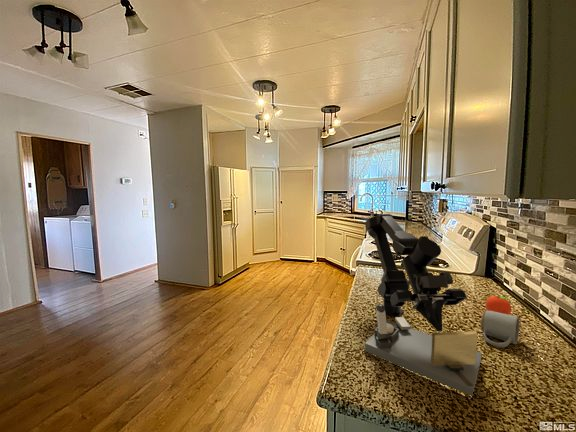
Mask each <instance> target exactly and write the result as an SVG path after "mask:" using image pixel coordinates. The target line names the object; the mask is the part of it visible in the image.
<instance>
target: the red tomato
mask: <svg viewBox="0 0 576 432" xmlns="http://www.w3.org/2000/svg"><path fill="white" fill-rule="evenodd" d="M510 302H512V300H511V299H510V298H508V297H504V296H499V295H492V296H489V297H488V298H487V299H486V301H485V308H486V311H494V312H498V313H503V314H507V315H510V314H511V312H512V305H511V304H510Z"/></svg>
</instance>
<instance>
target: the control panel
mask: <svg viewBox="0 0 576 432" xmlns="http://www.w3.org/2000/svg"><path fill="white" fill-rule="evenodd" d="M386 323H388V324H391V325H393V327H394V333H393V334H392V335H389V336H390V339H389V340H379V339H378V336H377V333H379V332H378V326H377V327H376V328H375V329H374V333H373V334H372V335H371V337H369V338H368V340H367V341H366V342H365V343H364V352H365V351H367V352H369V353H371V354H374V355H376V356H378V357H381V358H383V359H385V360H387V361H390V362H392V363H394V364H397V365H399V366H401V367H404V368H406V369H408V370H410V371H413V372H415V373H418V374H420V375H423V376H426V377H427V378H430V379H432V380H435V381H437V382H439V383H442V384H444V385H447V386H449V387H452V388H454V389H456V390H459V391H461V392H463V393H466V394H468V395H471V396H473V397H474V394H473V392H474V393H475V390H474V388H475V389H476V386H475V384H477V381H476V379H477V380H478V377H477V375H478V376H479V372H480V368H481V367H480V366H481V364H480V363H482V352H481V351H477V350H476V361H475V364H467V365H461V366H463V367H464V370H456V371H451V370H450V369H449V368H448V367H447V366H446V365H440V366H433V365H432V363H431V351H432V335H431V334H428V333H425V332H422V331H419V330H416V329H413V328H410V329H409V330H402V329H401V328H400V327H399V325H398V324H397V322H394V321H390V320H386ZM367 352H366V353H367ZM369 353H368V354H369ZM371 354H370V355H371ZM374 355H373V356H374ZM376 356H375V357H376ZM378 357H377V358H378ZM387 361H386V362H387ZM479 367H480V368H479ZM478 371H479V372H478Z"/></svg>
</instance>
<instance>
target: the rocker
mask: <svg viewBox="0 0 576 432" xmlns="http://www.w3.org/2000/svg"><path fill="white" fill-rule="evenodd" d="M394 321H395V323H397V324H398V325H399V327H400V328H401V329H402V330H409V329H410V328H411V325H410V323H409V322H408V321H407V320H406V319H405V317H404V316H399V317H394ZM411 329H412V328H411Z"/></svg>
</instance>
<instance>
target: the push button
mask: <svg viewBox="0 0 576 432" xmlns="http://www.w3.org/2000/svg"><path fill="white" fill-rule="evenodd" d="M387 332H388V333H389V335H392V334H393V333H394V327H393V325H391V324H388V323H387Z"/></svg>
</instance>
